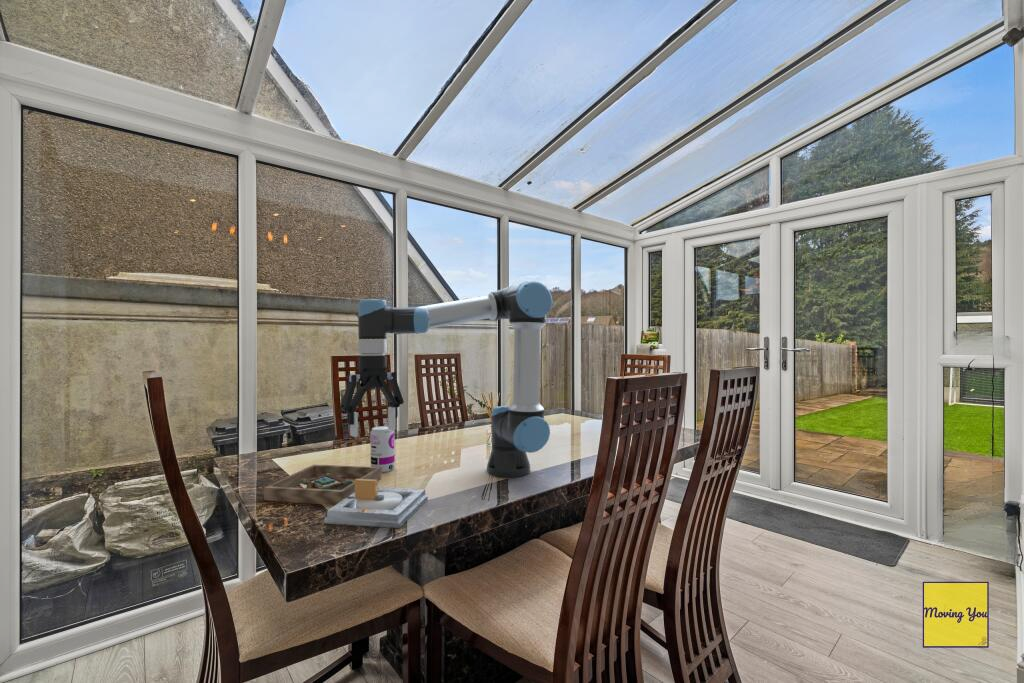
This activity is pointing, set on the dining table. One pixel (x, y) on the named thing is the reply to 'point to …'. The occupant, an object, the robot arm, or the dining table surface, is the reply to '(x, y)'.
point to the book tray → (287, 493)
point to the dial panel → (394, 518)
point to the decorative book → (327, 482)
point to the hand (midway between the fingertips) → (373, 432)
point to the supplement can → (382, 448)
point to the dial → (374, 496)
